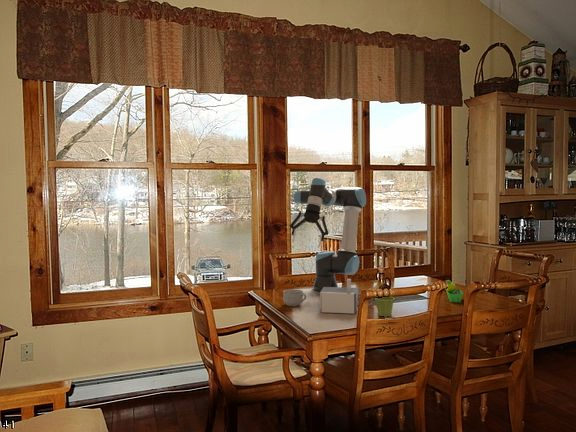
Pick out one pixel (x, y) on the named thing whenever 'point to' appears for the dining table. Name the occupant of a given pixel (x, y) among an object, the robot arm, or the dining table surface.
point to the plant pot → (385, 306)
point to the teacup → (293, 297)
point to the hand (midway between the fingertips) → (305, 244)
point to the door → (337, 301)
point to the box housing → (343, 290)
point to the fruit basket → (453, 292)
